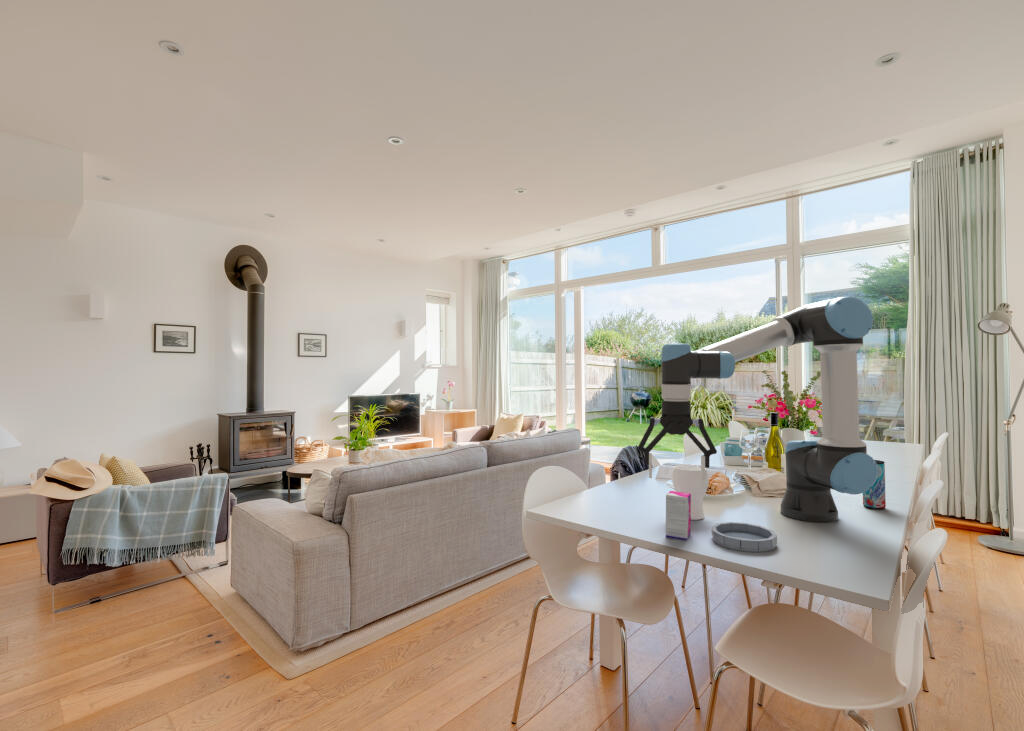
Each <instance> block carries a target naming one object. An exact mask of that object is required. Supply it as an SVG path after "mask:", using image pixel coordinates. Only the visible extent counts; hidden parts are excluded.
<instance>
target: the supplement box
mask: <svg viewBox="0 0 1024 731" xmlns="http://www.w3.org/2000/svg"><path fill="white" fill-rule="evenodd" d="M691 522H692V520H691V494H690V493H683V492H676V491H675V490H670V491H669V492H667V494H665V538H667V539H674V540H679V541H680V540H681V541H688V539H689V538H690V536H691V532H692V531H691V529H692V528H691V527H692V524H691Z"/></svg>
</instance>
